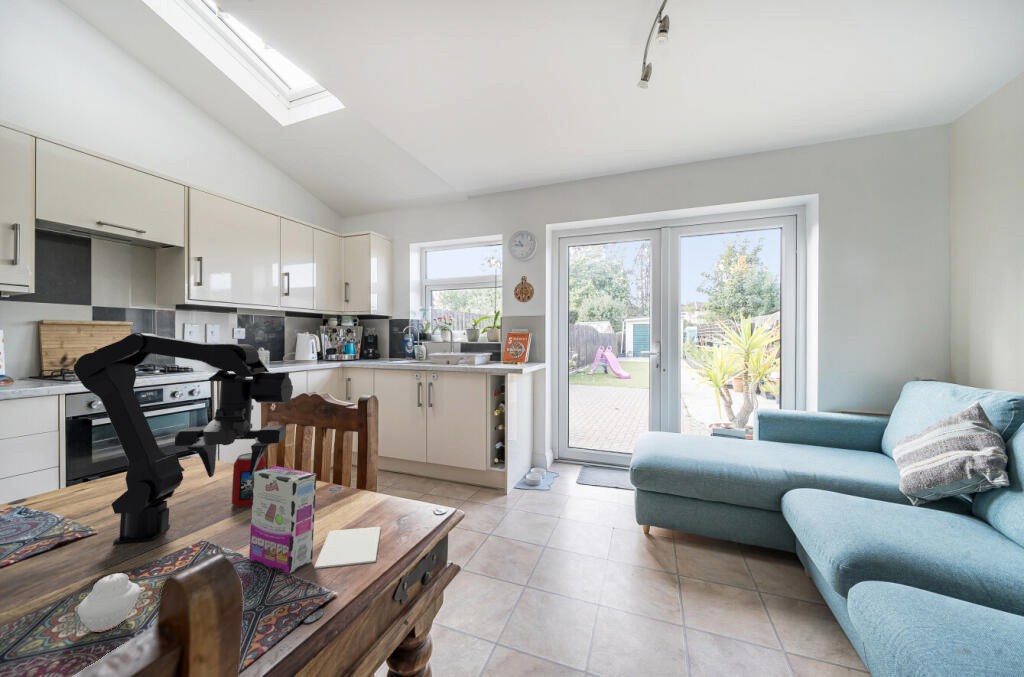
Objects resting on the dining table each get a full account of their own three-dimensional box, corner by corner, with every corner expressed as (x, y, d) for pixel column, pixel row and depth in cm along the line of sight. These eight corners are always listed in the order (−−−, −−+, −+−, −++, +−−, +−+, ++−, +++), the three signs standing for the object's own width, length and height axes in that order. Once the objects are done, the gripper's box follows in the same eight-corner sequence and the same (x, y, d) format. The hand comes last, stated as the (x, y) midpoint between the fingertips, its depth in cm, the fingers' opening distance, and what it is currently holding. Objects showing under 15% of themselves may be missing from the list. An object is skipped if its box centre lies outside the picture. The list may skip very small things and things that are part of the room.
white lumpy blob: (65, 633, 52) (69, 581, 52) (124, 606, 58) (127, 559, 58) (90, 647, 50) (93, 593, 50) (148, 617, 56) (151, 568, 56)
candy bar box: (314, 561, 71) (318, 472, 72) (289, 575, 67) (294, 481, 67) (273, 547, 76) (277, 464, 76) (247, 560, 71) (251, 471, 72)
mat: (314, 568, 69) (314, 566, 69) (329, 532, 83) (329, 530, 83) (375, 562, 72) (375, 560, 72) (380, 527, 85) (380, 526, 85)
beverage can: (247, 510, 92) (250, 460, 92) (224, 507, 93) (226, 457, 94) (270, 499, 99) (272, 453, 99) (248, 497, 100) (250, 450, 100)
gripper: (160, 408, 72) (154, 492, 71) (272, 408, 77) (267, 486, 76) (192, 400, 82) (187, 473, 82) (288, 400, 87) (285, 469, 87)
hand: (231, 475), depth 81 cm, fingers open, 7 cm apart
